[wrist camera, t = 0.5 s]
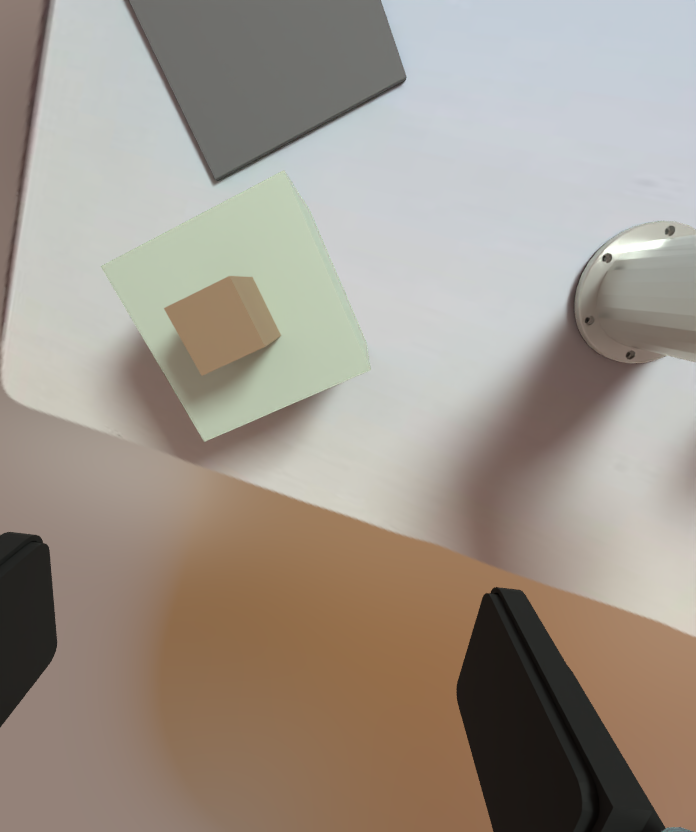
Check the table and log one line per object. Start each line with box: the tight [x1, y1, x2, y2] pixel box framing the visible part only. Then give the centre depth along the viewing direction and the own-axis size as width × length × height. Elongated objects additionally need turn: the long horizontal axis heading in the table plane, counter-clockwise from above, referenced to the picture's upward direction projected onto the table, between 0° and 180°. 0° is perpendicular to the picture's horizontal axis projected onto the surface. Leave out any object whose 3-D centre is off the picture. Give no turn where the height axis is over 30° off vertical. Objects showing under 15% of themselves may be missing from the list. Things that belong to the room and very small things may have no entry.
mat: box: [129, 0, 406, 181], centre depth 33 cm, size 18×18×1 cm
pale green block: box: [101, 171, 371, 442], centre depth 31 cm, size 13×13×19 cm
